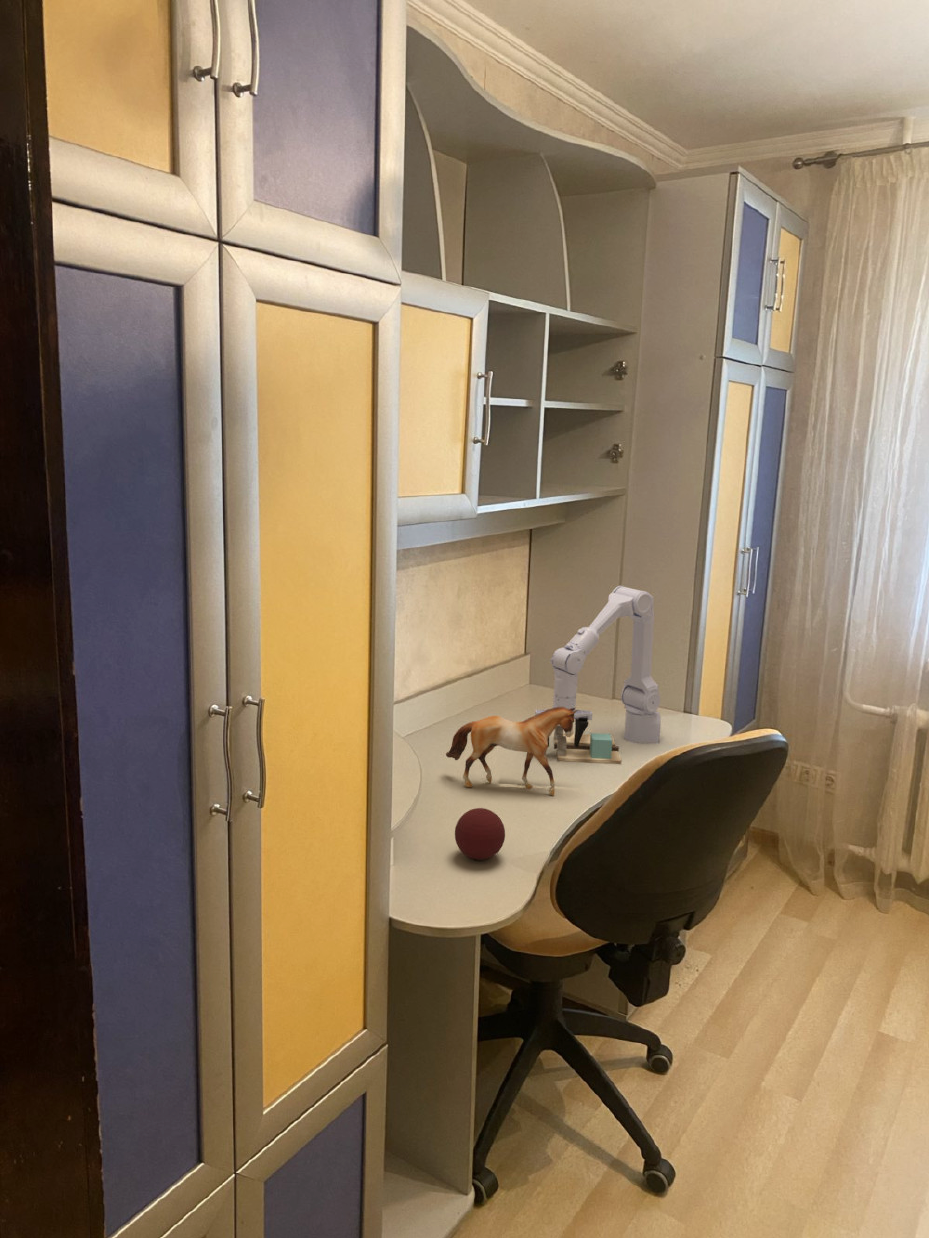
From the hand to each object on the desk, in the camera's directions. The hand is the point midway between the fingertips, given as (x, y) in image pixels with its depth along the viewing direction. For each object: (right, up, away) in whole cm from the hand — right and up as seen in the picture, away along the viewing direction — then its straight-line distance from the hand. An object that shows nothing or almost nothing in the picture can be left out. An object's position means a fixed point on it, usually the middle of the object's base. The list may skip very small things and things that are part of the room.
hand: (561, 745), depth 237 cm
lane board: (+7, -3, +6) cm, 10 cm away
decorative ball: (-22, -15, -54) cm, 60 cm away
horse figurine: (-15, -7, -16) cm, 23 cm away
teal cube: (+10, -2, 0) cm, 10 cm away
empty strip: (+7, -1, +12) cm, 14 cm away
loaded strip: (+7, -3, 0) cm, 8 cm away
